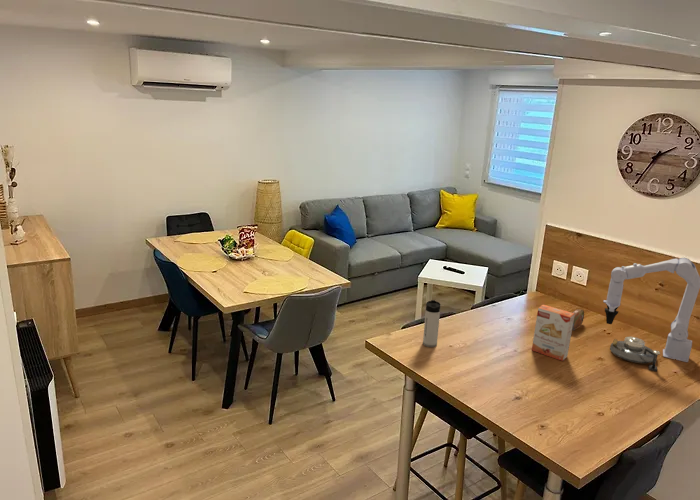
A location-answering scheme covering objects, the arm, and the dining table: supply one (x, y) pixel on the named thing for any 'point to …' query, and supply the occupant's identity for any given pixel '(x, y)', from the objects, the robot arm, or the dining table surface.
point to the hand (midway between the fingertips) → (609, 320)
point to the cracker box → (553, 332)
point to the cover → (634, 343)
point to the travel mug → (431, 323)
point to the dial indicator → (655, 353)
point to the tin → (578, 318)
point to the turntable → (630, 353)
